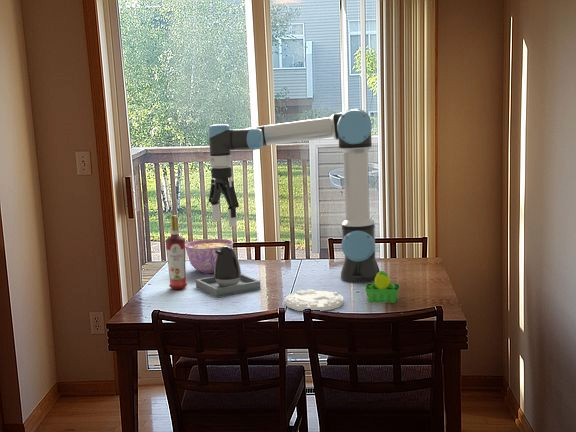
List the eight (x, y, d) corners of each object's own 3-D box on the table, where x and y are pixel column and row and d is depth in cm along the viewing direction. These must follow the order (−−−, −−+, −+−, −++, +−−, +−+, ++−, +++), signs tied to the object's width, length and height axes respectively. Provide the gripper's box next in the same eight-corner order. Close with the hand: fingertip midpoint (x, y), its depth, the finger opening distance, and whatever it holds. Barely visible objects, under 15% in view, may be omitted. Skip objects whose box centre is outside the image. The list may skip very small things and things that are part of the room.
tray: (260, 288, 271) (260, 281, 271) (216, 297, 262) (216, 289, 262) (238, 279, 287) (237, 272, 286) (196, 287, 278) (195, 279, 277)
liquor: (168, 291, 273) (163, 218, 268) (168, 286, 280) (163, 214, 275) (188, 290, 274) (183, 216, 269) (187, 285, 281) (183, 213, 277)
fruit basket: (400, 297, 252) (400, 266, 250) (398, 305, 244) (398, 272, 242) (367, 297, 255) (366, 265, 253) (364, 304, 246) (363, 272, 244)
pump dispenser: (208, 286, 274) (206, 247, 271) (228, 280, 281) (226, 242, 279) (227, 290, 267) (224, 250, 265) (247, 284, 275) (245, 245, 272)
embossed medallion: (350, 310, 242) (350, 302, 241) (292, 316, 238) (292, 307, 237) (334, 294, 261) (334, 286, 261) (280, 299, 257) (280, 291, 256)
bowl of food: (228, 276, 292) (226, 248, 290) (180, 276, 295) (178, 248, 294) (239, 265, 311) (238, 238, 309) (194, 265, 315) (193, 238, 313)
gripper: (197, 165, 276) (201, 221, 279) (227, 170, 254) (230, 229, 258) (215, 164, 279) (218, 218, 283) (246, 168, 258) (249, 227, 262)
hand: (224, 224), depth 270 cm, fingers open, 13 cm apart
